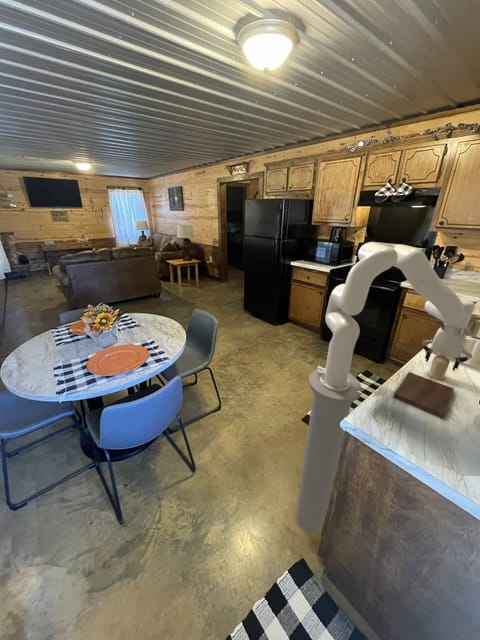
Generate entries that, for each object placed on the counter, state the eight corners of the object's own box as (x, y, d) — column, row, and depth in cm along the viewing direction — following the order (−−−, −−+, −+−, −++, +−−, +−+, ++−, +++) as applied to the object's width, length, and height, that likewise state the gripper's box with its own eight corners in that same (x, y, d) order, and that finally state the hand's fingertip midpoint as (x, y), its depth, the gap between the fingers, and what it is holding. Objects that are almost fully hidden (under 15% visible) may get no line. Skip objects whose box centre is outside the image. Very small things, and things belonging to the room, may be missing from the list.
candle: (441, 381, 112) (449, 361, 107) (426, 375, 115) (433, 356, 111) (444, 376, 115) (452, 356, 111) (430, 370, 119) (437, 351, 115)
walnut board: (393, 397, 103) (394, 393, 102) (407, 375, 116) (408, 371, 115) (442, 418, 92) (444, 414, 92) (452, 391, 105) (453, 388, 105)
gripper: (482, 332, 103) (466, 369, 110) (430, 320, 114) (419, 354, 121) (480, 339, 98) (464, 377, 105) (426, 325, 109) (414, 360, 116)
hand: (440, 364), depth 113 cm, fingers open, 9 cm apart
